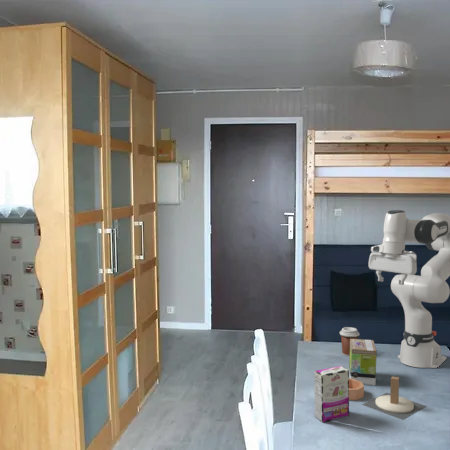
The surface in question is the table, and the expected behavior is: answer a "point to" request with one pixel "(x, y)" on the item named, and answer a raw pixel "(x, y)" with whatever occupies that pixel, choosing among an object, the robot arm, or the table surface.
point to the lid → (394, 400)
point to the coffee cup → (348, 338)
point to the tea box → (363, 361)
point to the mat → (399, 415)
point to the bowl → (355, 389)
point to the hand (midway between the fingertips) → (390, 283)
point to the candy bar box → (331, 393)
